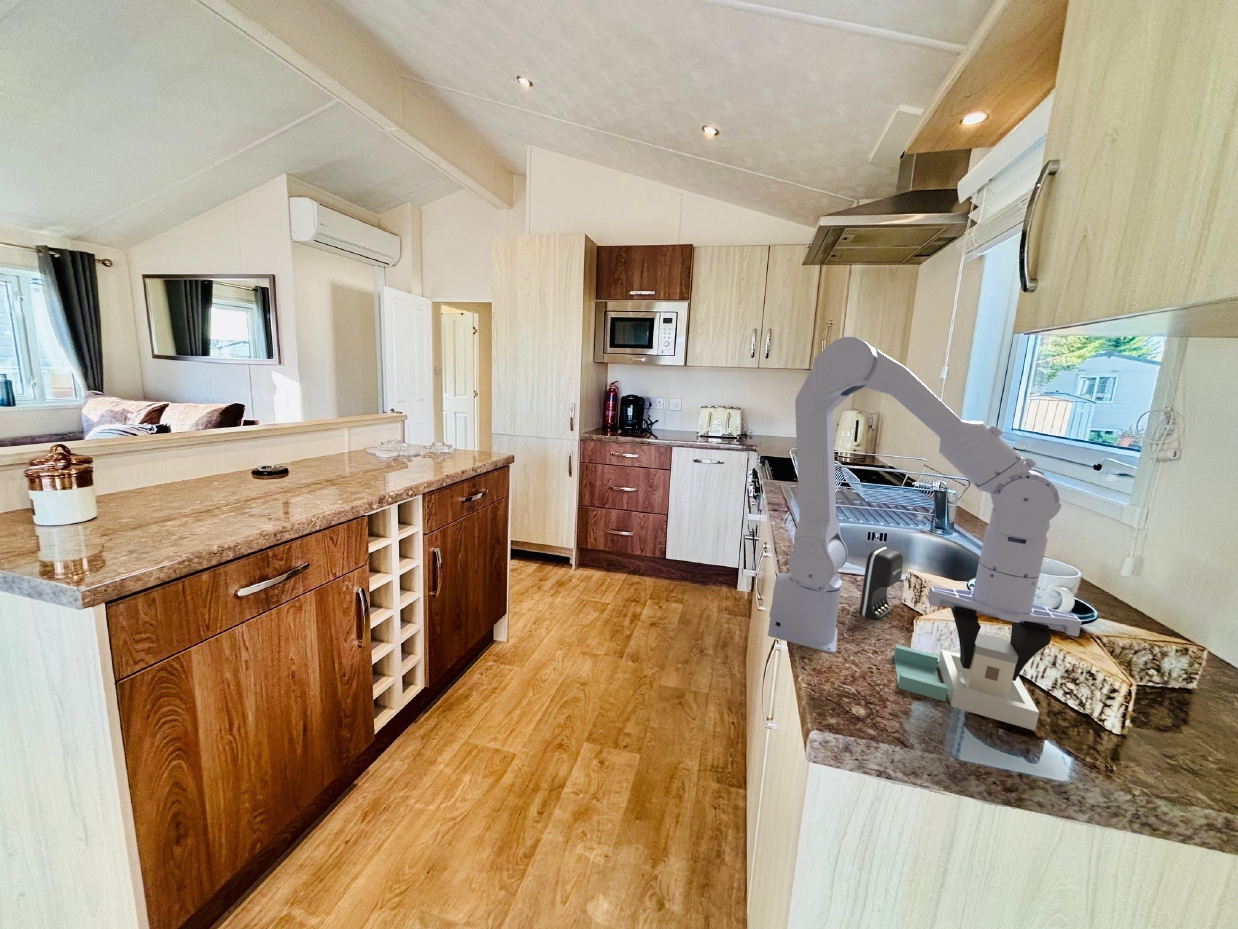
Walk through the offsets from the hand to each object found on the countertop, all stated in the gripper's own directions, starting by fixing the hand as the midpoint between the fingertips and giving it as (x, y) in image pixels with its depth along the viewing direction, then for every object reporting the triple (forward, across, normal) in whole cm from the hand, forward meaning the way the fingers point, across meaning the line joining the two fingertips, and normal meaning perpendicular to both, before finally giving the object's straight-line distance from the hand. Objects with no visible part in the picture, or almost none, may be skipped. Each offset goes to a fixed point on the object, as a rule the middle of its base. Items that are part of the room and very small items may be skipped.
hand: (986, 670), depth 60 cm
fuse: (+2, 0, 0) cm, 2 cm away
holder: (+4, -7, 0) cm, 8 cm away
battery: (+4, -11, +18) cm, 21 cm away
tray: (+4, 0, 0) cm, 4 cm away
